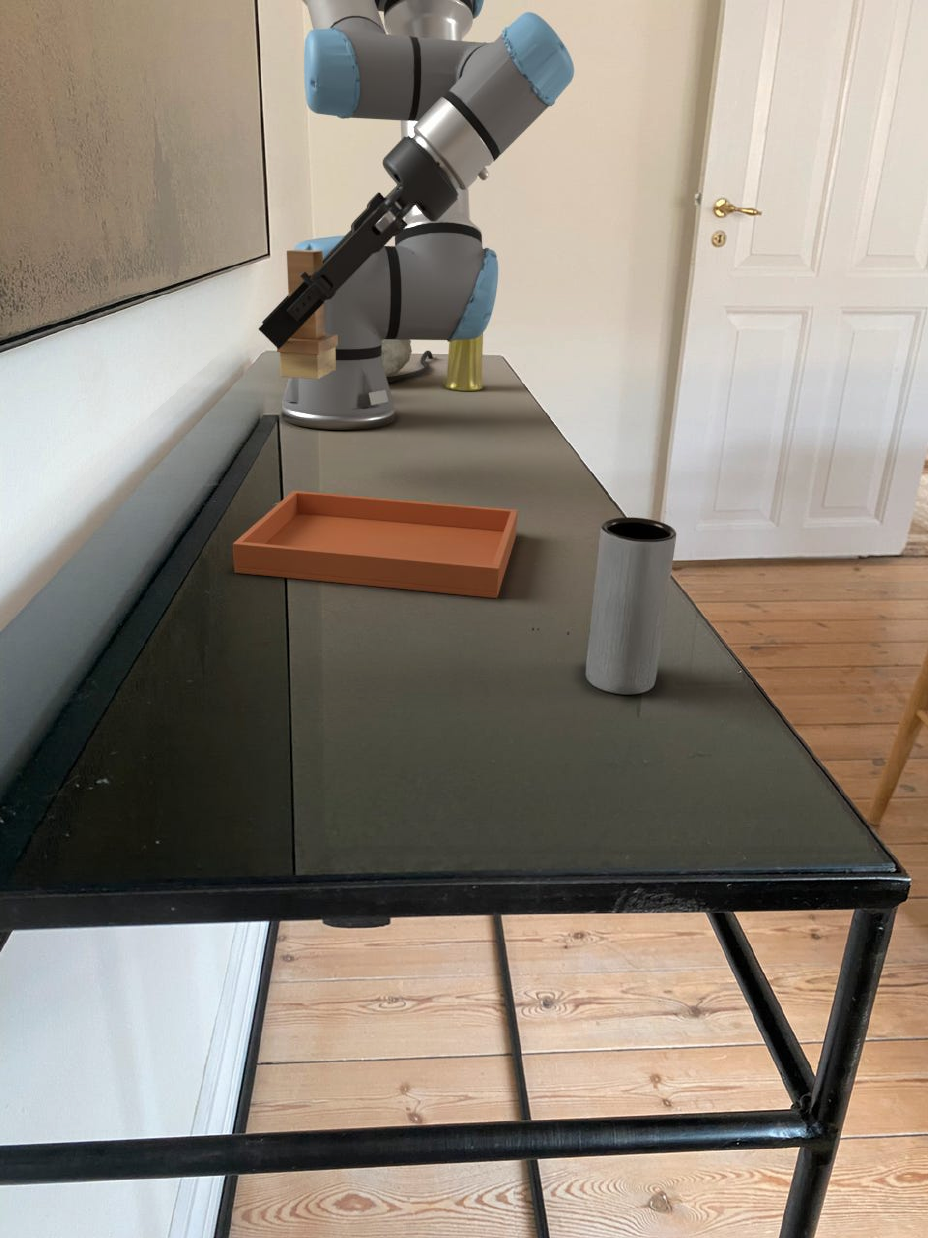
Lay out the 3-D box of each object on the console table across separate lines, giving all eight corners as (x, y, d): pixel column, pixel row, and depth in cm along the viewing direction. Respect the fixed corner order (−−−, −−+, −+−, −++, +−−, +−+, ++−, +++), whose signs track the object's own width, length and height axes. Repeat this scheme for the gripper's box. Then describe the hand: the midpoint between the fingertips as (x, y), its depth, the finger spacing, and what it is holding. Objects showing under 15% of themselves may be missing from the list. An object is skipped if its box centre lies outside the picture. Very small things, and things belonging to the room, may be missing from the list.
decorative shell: (294, 371, 160) (292, 309, 155) (393, 369, 166) (394, 310, 162) (317, 390, 144) (316, 323, 140) (425, 388, 151) (427, 323, 146)
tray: (293, 515, 88) (293, 490, 87) (516, 535, 86) (517, 509, 85) (234, 572, 74) (232, 543, 73) (497, 598, 72) (498, 568, 71)
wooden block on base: (299, 367, 101) (294, 248, 96) (338, 369, 100) (335, 249, 95) (278, 377, 95) (271, 251, 90) (319, 379, 94) (315, 253, 89)
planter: (608, 700, 58) (627, 544, 54) (572, 669, 61) (587, 520, 57) (669, 689, 59) (692, 536, 55) (630, 658, 63) (649, 514, 59)
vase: (448, 383, 155) (451, 293, 149) (484, 385, 154) (489, 295, 149) (442, 389, 150) (445, 296, 144) (480, 392, 149) (484, 298, 143)
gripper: (473, 194, 84) (294, 377, 89) (451, 194, 100) (300, 349, 104) (416, 125, 81) (234, 317, 86) (402, 136, 97) (249, 298, 101)
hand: (270, 334), depth 95 cm, fingers closed on wooden block on base, 4 cm apart
